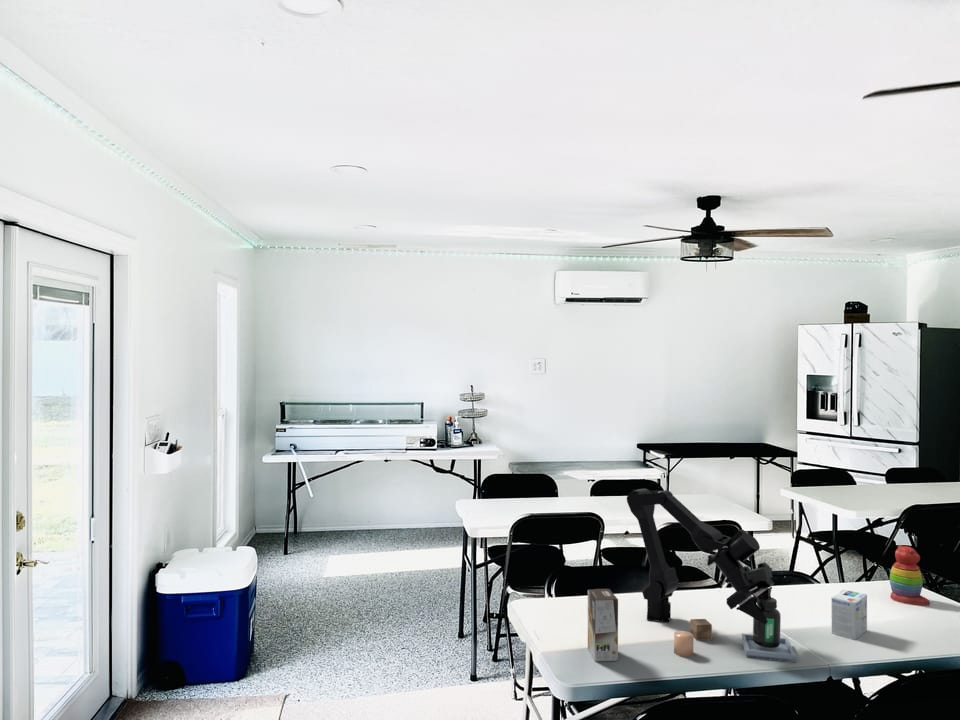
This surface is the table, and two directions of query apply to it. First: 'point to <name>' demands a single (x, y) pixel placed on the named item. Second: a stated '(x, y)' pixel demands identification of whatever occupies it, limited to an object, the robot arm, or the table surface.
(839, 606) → the light bulb box
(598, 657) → the coffee box
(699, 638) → the walnut block
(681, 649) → the cylinder block
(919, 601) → the stacking bear
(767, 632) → the supplement bottle
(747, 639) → the tray
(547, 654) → the table surface
